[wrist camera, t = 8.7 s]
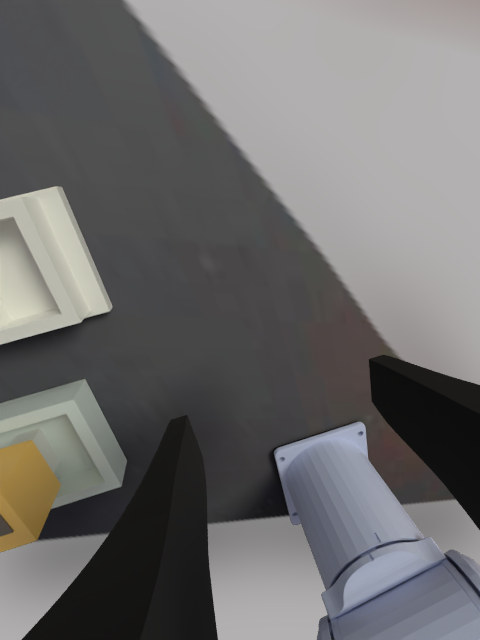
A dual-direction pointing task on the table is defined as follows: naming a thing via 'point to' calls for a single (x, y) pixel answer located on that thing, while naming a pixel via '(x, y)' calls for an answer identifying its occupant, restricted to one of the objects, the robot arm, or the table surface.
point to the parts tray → (69, 438)
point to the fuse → (26, 488)
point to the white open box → (44, 267)
